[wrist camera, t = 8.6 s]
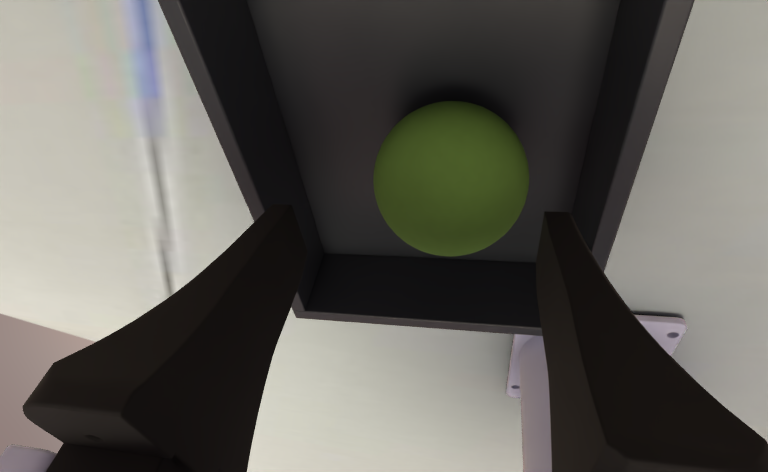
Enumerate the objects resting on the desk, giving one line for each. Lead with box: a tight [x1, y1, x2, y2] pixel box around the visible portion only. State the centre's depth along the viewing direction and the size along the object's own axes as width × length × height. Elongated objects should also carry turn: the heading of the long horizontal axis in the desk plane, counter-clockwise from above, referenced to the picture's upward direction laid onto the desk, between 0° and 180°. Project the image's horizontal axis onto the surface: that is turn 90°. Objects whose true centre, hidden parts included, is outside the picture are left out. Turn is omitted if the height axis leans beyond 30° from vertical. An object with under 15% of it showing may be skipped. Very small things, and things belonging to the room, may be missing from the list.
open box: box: [158, 0, 694, 336], centre depth 16 cm, size 15×12×4 cm
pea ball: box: [373, 101, 529, 256], centre depth 15 cm, size 5×5×5 cm
